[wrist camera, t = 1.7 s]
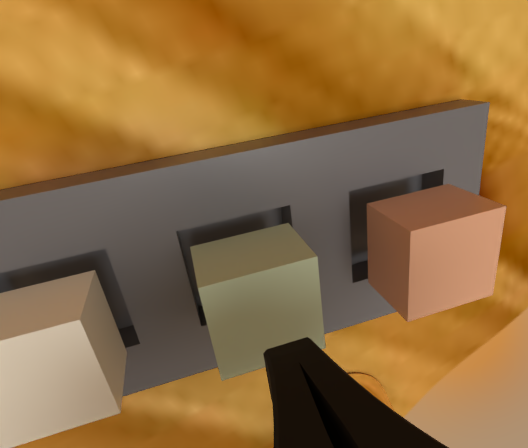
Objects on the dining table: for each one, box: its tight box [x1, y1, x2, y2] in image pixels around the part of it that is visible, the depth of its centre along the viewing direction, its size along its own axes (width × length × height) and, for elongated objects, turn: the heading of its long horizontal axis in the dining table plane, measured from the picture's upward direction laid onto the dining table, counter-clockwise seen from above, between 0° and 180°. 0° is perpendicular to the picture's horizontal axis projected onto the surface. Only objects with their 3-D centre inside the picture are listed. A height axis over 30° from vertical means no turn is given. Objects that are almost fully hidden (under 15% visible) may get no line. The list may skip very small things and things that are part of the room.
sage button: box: [190, 223, 325, 381], centre depth 14 cm, size 4×4×3 cm
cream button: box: [0, 270, 127, 448], centre depth 13 cm, size 4×4×3 cm
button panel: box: [0, 100, 490, 397], centre depth 17 cm, size 10×24×2 cm, turn 98°
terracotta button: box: [367, 184, 506, 322], centre depth 15 cm, size 4×4×3 cm
